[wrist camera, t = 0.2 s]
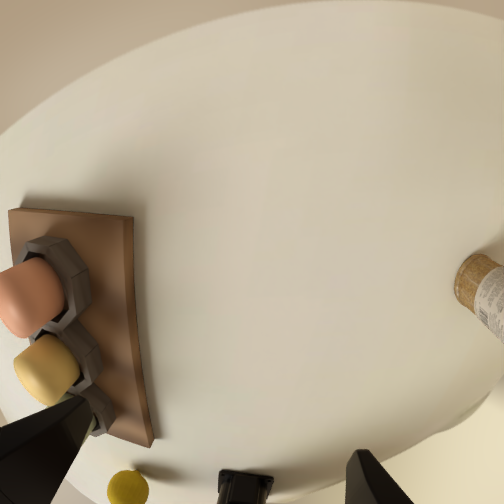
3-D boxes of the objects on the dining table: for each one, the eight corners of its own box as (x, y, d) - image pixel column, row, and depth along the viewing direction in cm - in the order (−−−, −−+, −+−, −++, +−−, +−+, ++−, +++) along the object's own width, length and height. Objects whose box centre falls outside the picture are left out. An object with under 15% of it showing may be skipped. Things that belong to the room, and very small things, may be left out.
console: (154, 439, 27) (143, 462, 24) (59, 402, 28) (45, 419, 25) (133, 217, 20) (105, 226, 17) (18, 207, 22) (-10, 214, 18)
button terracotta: (69, 322, 19) (38, 346, 16) (29, 308, 20) (0, 327, 16) (60, 262, 18) (23, 280, 14) (20, 253, 18) (-14, 267, 15)
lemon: (118, 468, 31) (99, 506, 24) (121, 455, 30) (99, 496, 22) (152, 484, 31) (136, 523, 24) (158, 472, 30) (140, 516, 22)
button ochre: (85, 387, 21) (62, 414, 18) (47, 371, 22) (24, 393, 18) (73, 343, 20) (45, 368, 16) (34, 328, 20) (7, 348, 17)
